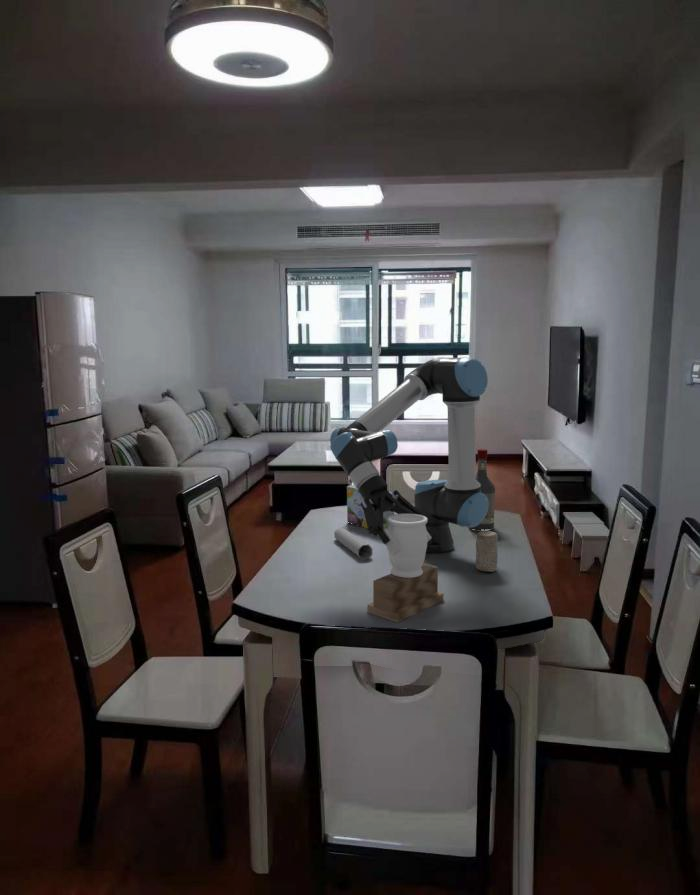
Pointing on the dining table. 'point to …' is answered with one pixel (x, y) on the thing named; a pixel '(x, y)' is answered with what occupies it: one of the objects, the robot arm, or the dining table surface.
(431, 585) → the wooden block
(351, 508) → the snack box
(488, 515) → the liquor
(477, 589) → the dining table surface
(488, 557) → the carving
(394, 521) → the jar
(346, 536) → the tube
